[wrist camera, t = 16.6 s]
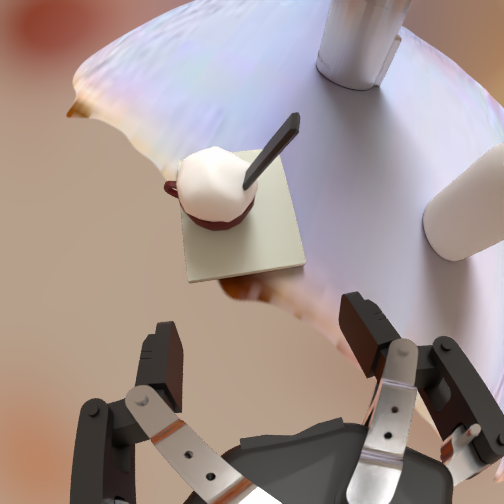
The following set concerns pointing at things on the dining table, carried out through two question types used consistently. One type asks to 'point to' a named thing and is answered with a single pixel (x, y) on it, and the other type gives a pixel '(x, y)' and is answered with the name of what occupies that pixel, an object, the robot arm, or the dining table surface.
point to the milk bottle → (469, 209)
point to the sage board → (248, 233)
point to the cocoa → (225, 181)
